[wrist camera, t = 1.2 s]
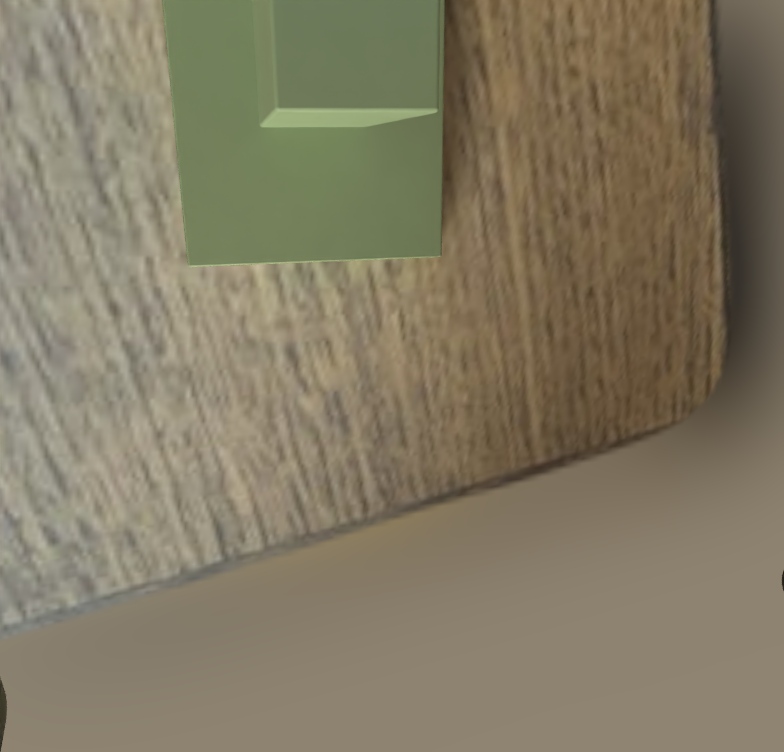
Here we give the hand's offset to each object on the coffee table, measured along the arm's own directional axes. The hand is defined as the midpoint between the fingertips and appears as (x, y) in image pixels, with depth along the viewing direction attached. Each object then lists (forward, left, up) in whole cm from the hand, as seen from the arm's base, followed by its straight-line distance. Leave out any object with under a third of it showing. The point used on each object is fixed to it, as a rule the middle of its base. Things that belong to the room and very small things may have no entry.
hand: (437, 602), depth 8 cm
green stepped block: (+5, 0, -11) cm, 12 cm away
